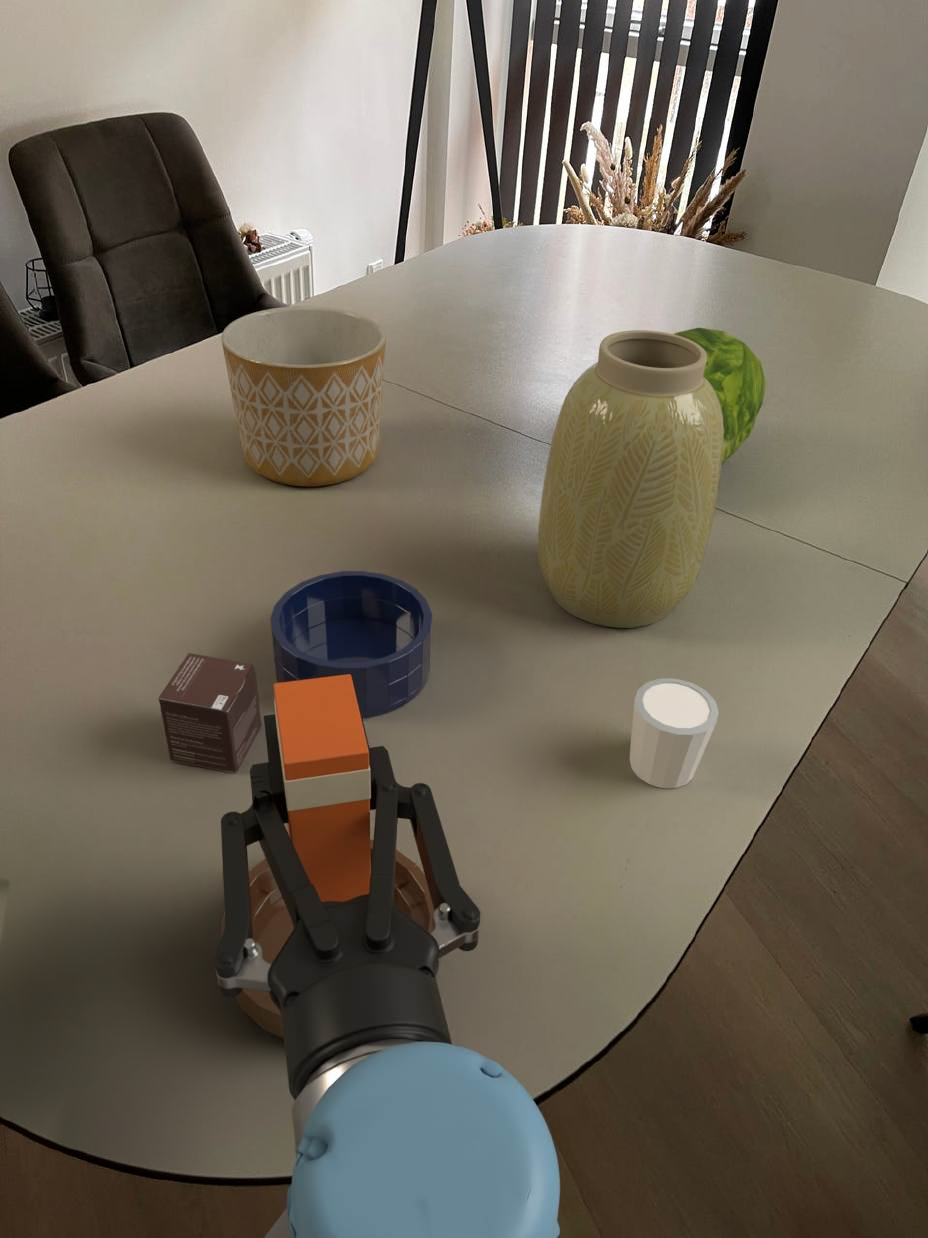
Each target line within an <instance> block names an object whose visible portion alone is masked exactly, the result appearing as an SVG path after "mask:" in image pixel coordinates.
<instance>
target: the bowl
mask: <svg viewBox="0 0 928 1238" xmlns="http://www.w3.org/2000/svg"><path fill="white" fill-rule="evenodd" d="M372 853H373V839H372V838H370V855H371V866H372ZM249 884H250V898H251V912H252V927H253V939H254V940H255V942H258V943H259V944H260V945H261V946H262V949H263V955H264V959H265V961H267V962H268V963H272V962H273V961H274V959H275V958H276V956H277V954H278V953H279V951H280V950H281V948H282V947H283V945H284V943H285V942H286V940H287V939H288V937H289V936H290V934H291V932H292V931H293V929H294V926H293V922H292V919H291V917H290V915H289V912H288V910H287V907H286V905H285V903H284V900H283V898H282V895H281V893H280V891H279V888H278V886H277V884H276V881H275V879H274V876H273V874H272V872H271V869H270V867H269V865H268V862H267V860H266V858H264V859H263V860H261V861H260V862H259V863H258V864H256V865H255V866H254V867H252V868H251V869H249ZM393 905H395V906H396V907H397V908H398V909H400V910H401V911H402V912H403V913H405V914H406V915H407V916H409V917H410V918H411V919H412V920H414V921H415V922H416V923H417V924H419V925H420V926H421V927H423V928H424V929H425V930H426V931H428V932H429V933H431V932H432V931H433V928H432V924H433V913H434V911H435V910H434V907H433V903H432V899H431V896H430V892H429V888H428V885H427V881H426V877H425V874H424V871H422V869H421V868H420V866H419V865H418V863H416V862H414V861H413V860H411V859H410V858H409V857H407V855H405V854H404V853H402V852H401V851H399V850H398V849H396V862H395V882H394V902H393ZM220 926H221V927H220V939H221V938H222V935H223V933H224V930H225V914H224V915H223V919H222V921H221V924H220ZM234 998H235V1000H236V1002H237V1004H238V1006H239V1008H240V1009H241V1010H242V1011H243V1012H244V1013H245V1014H246V1015H247V1016H248V1017H250V1019H252V1020H253V1021H254V1022H255V1023H256V1025H258V1027H260V1028H261V1029H262V1030H263V1031H266V1032H268V1033H270V1034H272V1035H275V1036H277V1037H280V1038H282V1039H284V1034H283V1024H282V1015H281V1012H280V1010H279V1009H278V1007H277V1006H276V1005H275V1004H274V1003H273V1001H272V1000H271V998H270V995H269V992H265V991H258V990H251V989H243V990H242V991H241V993H240V994H238V995H237V996H235V997H234Z"/></svg>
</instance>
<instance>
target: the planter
mask: <svg viewBox="0 0 928 1238" xmlns="http://www.w3.org/2000/svg"><path fill="white" fill-rule="evenodd" d="M220 340H221V345H222V351H223V355H224V356H223V357H224V360H225V365H226V366H225V368H226V372H227V376H228V382H229V387H230V393H231V398H232V403H233V409H234V415H235V419H236V424H237V425H236V426H237V429H238V436H239V440H240V441H239V442H240V445H241V452H242V455H243V457H244V460H245V461H246V464H248V466H249V467H250V468H251V469H252V470H253V471H254V472H256V474H258V475H260V476H262V477H264V478H265V479H267V480H270V481H272V482H275V483H280V484H283V485H288V486H293V487H294V486H295V487H321V486H323V487H324V486H330V485H334V484H335V485H336V484H339V483H343V482H346V481H349V480H351V479H353V478H356V477H357V476H359V475H361V474H362V473H364V472H366V470H368V469H369V468H370V467H371V466H372V464H373V463H374V462H375V460H376V458H377V456H378V452H379V446H380V445H379V444H380V433H381V432H380V431H381V417H382V404H383V402H382V401H383V389H384V374H385V358H386V343H387V334H386V331H385V330H384V328H383V327H382V326H381V324H379V323H378V322H377V321H375V320H373V319H371V318H370V317H368V316H365V315H363V314H360V313H357V312H354V311H350V310H346V309H342V308H335V307H328V306H327V307H326V306H314V305H308V306H307V305H299V306H298V305H297V306H282V307H273V308H269V309H263V310H260V311H255V312H252V313H249V314H246V315H243V316H241V317H239V318H237V319H235V320H234V321H232V322H230V323H229V324H228V325H227V326H226V327H225V328H224V330H223V331H222V333H221V337H220Z"/></svg>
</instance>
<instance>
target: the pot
mask: <svg viewBox="0 0 928 1238" xmlns="http://www.w3.org/2000/svg"><path fill="white" fill-rule="evenodd" d="M269 622H270V631H271V638H272V639H271V640H272V649H273V660H274V667H275V676H276V681H277V683H282V682H290V681H298V680H306V679H315V678H323V677H331V676H339V675H347V674H350V675H351V677H352V681H353V686H354V690H355V694H356V698H357V703H359V706H360V710H361V714H362V718H363V719H367V718H372V717H378V716H382V715H385V714H389V713H391V712H393V711H395V710H398V709H400V708H402V707H403V706H405V705H407V704H408V703H410V702H411V701H412V700H414V699H415V698H416V697H417V696H418V695H419V694H420V693H421V691H423V689H424V688H425V686H426V685H427V683H428V681H429V677H430V674H431V665H432V664H431V663H432V646H433V645H432V643H433V611H432V610H431V606H430V603H429V601H428V600H427V598H425V596H424V595H423V594H422V593H421V592H420V591H419V590H418V589H417V588H416V587H414V586H413V585H411V584H409V583H408V582H406V581H404V580H402V579H400V578H397V577H394V576H391V575H388V574H384V573H380V572H375V571H373V572H372V571H366V570H341V571H334V572H329V573H325V574H320V575H317V576H314V577H311V578H309V579H306V580H303V581H300V582H299V583H298V584H296V585H295V586H293V587H292V588H289V590H287V591H286V592H285V593H284V594H283V595H282V596H281V597H280V598H279V600H277V602H276V603H275V605H274V607H273V609H272V612H271V615H270V621H269Z"/></svg>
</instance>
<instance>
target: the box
mask: <svg viewBox="0 0 928 1238" xmlns="http://www.w3.org/2000/svg"><path fill="white" fill-rule="evenodd" d="M255 665H256V664H254V663H252V662H251V663H250V662H245V661H240V660H233V659H226V658H221V657H215V656H209V655H204V654H197V653H191V652H189V653H188V654H187V655H186V656H185V658H184V659H183V661H182V662H181V663H180V665H179V666H178V668H177V670H176V671H175V673H174V674H173V675H172V677H171V678H170V680H169V681H168V683H167V684H166V686H165V687H164V689H163V690H162V691H161V693H160V694H159V696H158V698H157V700H158V703H159V707H160V713H161V719H162V724H163V731H164V735H165V740H166V745H167V750H168V756H169V761H171V762H172V763H176V764H182V765H188V766H195V767H201V768H207V769H211V770H215V771H216V770H217V771H222V772H225V773H231V774H234V773H235V774H236V773H238V771H239V769H240V767H241V765H242V764H243V762H244V759H245V758H246V756H247V754H248V752H249V751H250V749H251V747H252V745H253V743H254V741H255V739H256V737H257V735H258V733H259V731H260V729H261V727H262V725H263V724H262V717H261V709H260V700H259V691H258V683H257V676H256V675H257V674H256V668H255V667H256V666H255Z"/></svg>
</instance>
